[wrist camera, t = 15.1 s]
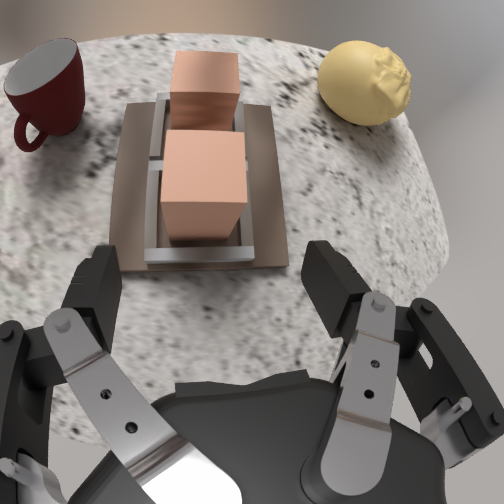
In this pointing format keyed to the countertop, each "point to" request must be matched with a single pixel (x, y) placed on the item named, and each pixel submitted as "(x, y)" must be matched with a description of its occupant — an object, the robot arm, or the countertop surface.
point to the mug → (47, 91)
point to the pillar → (203, 183)
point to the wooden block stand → (151, 168)
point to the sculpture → (364, 83)
